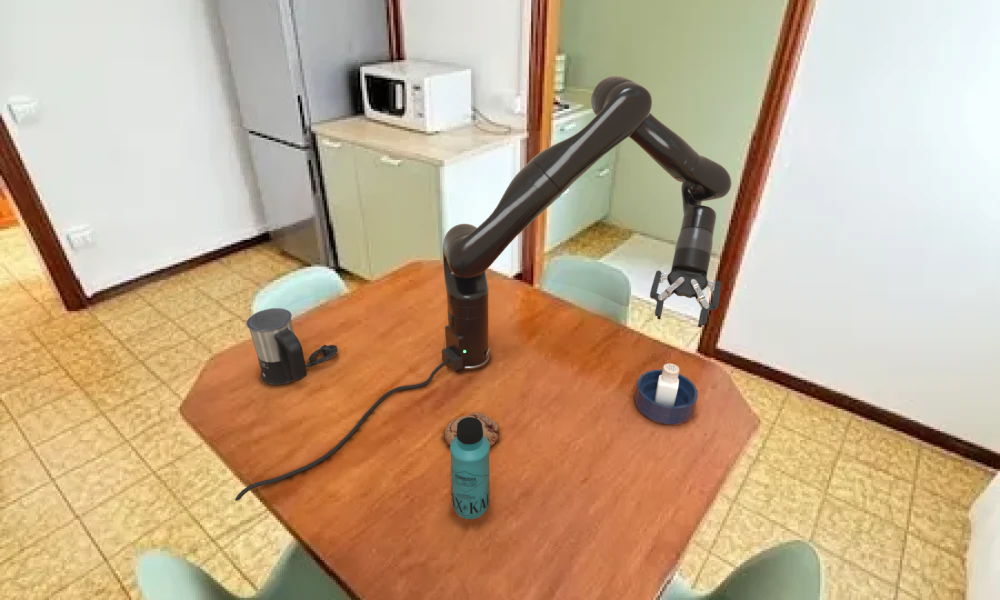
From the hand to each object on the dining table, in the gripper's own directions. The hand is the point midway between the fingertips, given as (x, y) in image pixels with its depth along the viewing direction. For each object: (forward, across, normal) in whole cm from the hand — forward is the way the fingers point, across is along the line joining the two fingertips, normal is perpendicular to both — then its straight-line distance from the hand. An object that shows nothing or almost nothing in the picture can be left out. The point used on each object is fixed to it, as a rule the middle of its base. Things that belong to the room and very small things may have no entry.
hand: (679, 322), depth 116 cm
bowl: (+18, 0, +3) cm, 18 cm away
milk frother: (+30, -80, -9) cm, 86 cm away
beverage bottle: (+45, -28, -24) cm, 59 cm away
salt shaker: (+18, 0, +3) cm, 18 cm away
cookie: (+34, -35, -13) cm, 50 cm away
